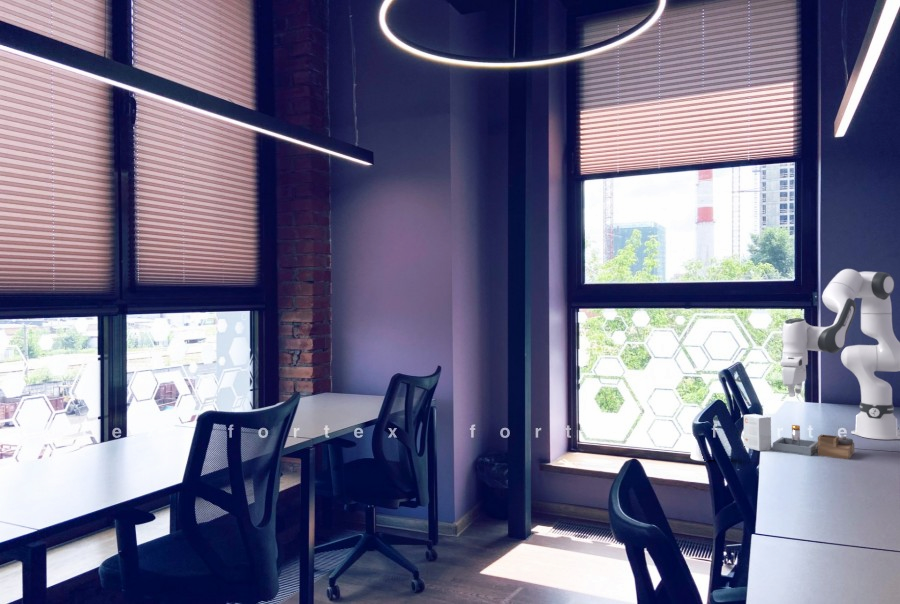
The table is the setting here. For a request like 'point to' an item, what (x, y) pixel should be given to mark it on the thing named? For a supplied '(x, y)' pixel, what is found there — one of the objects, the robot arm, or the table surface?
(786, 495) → the table surface
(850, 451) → the wooden holder block
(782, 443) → the tray
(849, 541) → the table surface
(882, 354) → the robot arm
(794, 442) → the lock pin
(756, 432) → the small box
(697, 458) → the mug
